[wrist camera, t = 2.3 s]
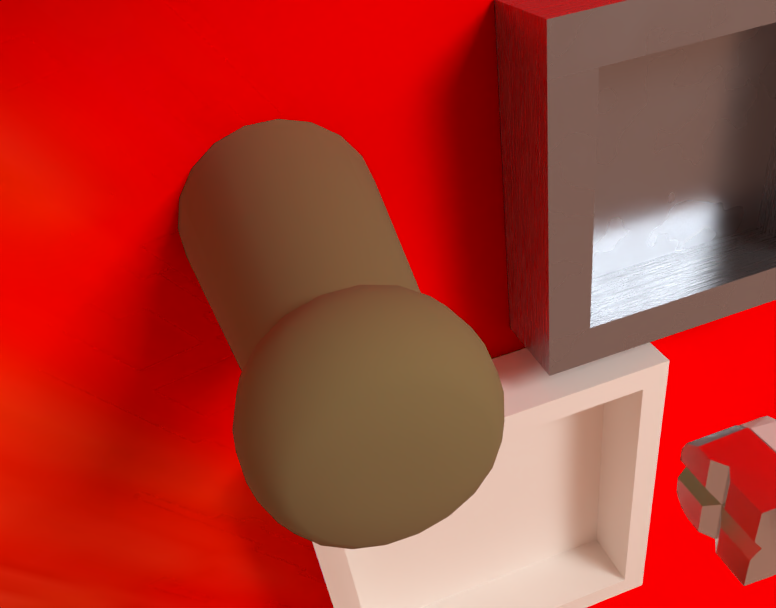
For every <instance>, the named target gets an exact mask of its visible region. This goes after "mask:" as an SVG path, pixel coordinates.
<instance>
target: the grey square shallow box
mask: <svg viewBox="0 0 776 608" xmlns="http://www.w3.org/2000/svg"><path fill="white" fill-rule="evenodd" d="M494 6H495V26H496V47H497V68H498V89H499V110H500V130H501V151H502V172H503V193H504V214H505V235H506V255H507V276H508V297H509V318H510V329H511V330H512V331H513V332H514V334H515V335H516V336H517V337H518V338H519V340H520V341H521V342H522V343H523V344H524V346H525V347H526V348H527V349H528V350H529V352H530V353H531V354H532V355H533V357H534V358H535V359H536V360H537V361H538V363H539V364H540V365H541V366H542V367H543V369H544V370H545V371H546V372H547V374H548V375H549V376H551V375H554V374H557V373H560V372H563V371H566V370H569V369H572V368H575V367H578V366H580V365H583V364H586V363H589V362H592V361H595V360H598V359H601V358H604V357H607V356H610V355H613V354H616V353H619V352H622V351H625V350H628V349H631V348H634V347H637V346H640V345H643V344H646V343H649V342H652V341H655V340H658V339H661V338H664V337H666V336H669V335H672V334H675V333H678V332H681V331H684V330H687V329H690V328H693V327H696V326H699V325H702V324H705V323H708V322H711V321H714V320H717V319H720V318H723V317H726V316H729V315H732V314H735V313H738V312H741V311H744V310H747V309H750V308H752V307H755V306H758V305H761V304H764V303H767V302H770V301H773V300H776V0H494Z"/></svg>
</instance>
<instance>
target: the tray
mask: <svg viewBox="0 0 776 608" xmlns="http://www.w3.org/2000/svg"><path fill="white" fill-rule="evenodd" d="M492 361H493V363H494V365H495V368H496V370H497V372H498V375H499V378H500V381H501V384H502V387H503V391H504V430H503V438H502V443H501V445H500V448H499V451H498V454H497V457H496V460H495V463H494V465H493V468H492V470H491V471H490V472H489V474H488V475H487V477H486V478H485V479H484V481H483V482H482V484H481V485H480V486H479V488H478V489H477V491H476V492H475V494H474V495H472V496H471V497H470V498H469V499H468V500H467V501H466V502H465V503H463V504H462V505H461V506H460V507H459V508H458V509H457V510H456V511H454V512H453V513H452V514H451V515H450V516H449V517H447V518H445V519H443V520H442V521H440V522H438V523H437V524H435V525H433V526H431V527H430V528H428V529H426V530H424V531H423V532H421V533H419V534H417V535H414V536H411V537H408V538H405V539H402V540H399V541H396V542H393V543H391V544H388V545H382V546H375V547H367V548H359V549H346V548H337V547H329V546H321V545H319V544H317V543H314V542H312V543H313V546H314V549H315V552H316V555H317V558H318V561H319V564H320V567H321V570H322V573H323V576H324V580H325V583H326V586H327V589H328V592H329V595H330V598H331V601H332V604H333V607H334V608H586V607H589V606H591V605H594V604H596V603H599V602H601V601H603V600H606V599H608V598H611V597H613V596H616V595H618V594H621V593H623V592H626V591H628V590H631V589H633V588H635V587H638V586H640V585H642V582H643V573H644V565H645V557H646V549H647V541H648V532H649V524H650V516H651V508H652V499H653V491H654V483H655V475H656V467H657V458H658V450H659V442H660V434H661V426H662V417H663V409H664V401H665V393H666V385H667V376H668V368H669V360H668V359H667V358H666V357H665V356H664V355H663V354H662V353H661V352H660V351H659V350H657V349H656V348H655V347H654V346H653V345H652V344H651V343H650V342H649V343H646V344H643V345H640V346H637V347H634V348H631V349H628V350H625V351H622V352H619V353H616V354H613V355H610V356H607V357H604V358H601V359H598V360H595V361H592V362H589V363H586V364H583V365H580V366H578V367H575V368H572V369H569V370H566V371H563V372H560V373H557V374H554V375H551V376H549V375H548V374H547V372H546V371H545V370H544V369H543V367H542V366H541V365H540V364H539V363H538V361H537V360H536V359H535V358H534V357H533V355H532V354H531V353H530V352H529V350H528V349H527V348H524V349H521V350H518V351H515V352H512V353H509V354H506V355H503V356H500V357H497V358H494V359H492Z"/></svg>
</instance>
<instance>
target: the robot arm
mask: <svg viewBox="0 0 776 608" xmlns="http://www.w3.org/2000/svg"><path fill="white" fill-rule="evenodd" d="M680 460H681V461H682V462H683V463H684V464H685V466H686V468H685V469H684V470H683V472H682V473H681V474H680V476H679V477H678V482H677V494H678V498H679V501H680V504H681V507H682V509H683V511H684V513H685V514H686V516H687V518H688V519H689V521H690V522H691V523H692V524H693V526H694V527H695V528H696V529H697V530H698V531H699V532H701V533H703V534H705V535H708V536H710V537H712V538H714V539H715V543H716V553H717V555H718V556H719V557H720V558H721V559H722V560H723V562H724V563H725V564H726V565H727V566H728V568H729V569H730V570H731V571H732V572H733V574H734V575H735V576H736V577H737V578H738V579H739V581H740V582H741V583H742V584H743V585H744V586H745V585H748V584H751V583H754V582H756V581H759V580H762V579H765V578H768V577H770V576H773V575H776V419H774V418H771V417H769V416H765V417H760V418H758V419H755V420H752V421H750V422H747V423H744V424H742V425H739V426H733V427H730V428H728V429H725V430H722V431H719V432H717V433H714V434H711V435H708V436H706V437H703V438H700V439H698V440H695V441H692V442H689V443H687V444H686V445H685V446H684V447H683V448H682V452H681V458H680Z"/></svg>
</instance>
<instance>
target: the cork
mask: <svg viewBox="0 0 776 608" xmlns="http://www.w3.org/2000/svg"><path fill="white" fill-rule="evenodd" d="M178 231H179V234H180V237H181V240H182V243H183V246H184V249H185V253H186V256H187V258H188V260H189V262H190V264H191V267H192V269H193V271H194V273H195V275H196V277H197V279H198V281H199V283H200V285H201V287H202V289H203V292H204V294H205V296H206V298H207V300H208V302H209V304H210V306H211V308H212V310H213V312H214V314H215V317H216V319H217V321H218V323H219V325H220V327H221V329H222V331H223V333H224V335H225V337H226V339H227V342H228V344H229V346H230V348H231V350H232V352H233V354H234V356H235V358H236V360H237V362H238V364H239V367H240V369H241V371H242V373H241V375H240V378H239V384H238V389H237V394H236V402H235V411H234V421H233V436H234V442H235V448H236V453H237V456H238V459H239V462H240V465H241V468H242V471H243V474H244V477H245V480H246V483H247V484H248V486H249V488H250V489H251V491H252V493H253V495H254V496H255V498H256V500H257V501H258V502H259V503H260V504H261V505H262V506H263V507H264V508H265V510H266V511H267V512H268V513H269V514H270V515H271V516H272V517H273V518H274V519H275V520H276V521H277V522H278V523H279V524H281V525H282V526H284V527H285V528H287V529H288V530H290V531H291V532H293V533H294V534H296V535H299V536H301V537H303V538H305V539H308V540H310V541H312V542H314V543H317V544H319V545H321V546H329V547H337V548H346V549H359V548H367V547H375V546H382V545H388V544H391V543H393V542H396V541H399V540H402V539H405V538H408V537H411V536H414V535H417V534H419V533H421V532H423V531H424V530H426V529H428V528H430V527H431V526H433V525H435V524H437V523H438V522H440V521H442V520H443V519H445V518H447V517H449V516H450V515H451V514H452V513H453V512H454V511H456V510H457V509H458V508H459V507H460V506H461V505H462V504H463V503H465V502H466V501H467V500H468V499H469V498H470V497H471V496H472V495H474V494H475V492H476V491H477V489H478V488H479V486H480V485H481V484H482V482H483V481H484V479H485V478H486V477H487V475H488V474H489V472H490V471H491V470H492V468H493V465H494V463H495V460H496V457H497V454H498V451H499V448H500V445H501V443H502V438H503V430H504V391H503V387H502V384H501V381H500V378H499V375H498V372H497V370H496V368H495V365H494V363H493V361H492V359H491V357H490V355H489V353H488V350H487V348H486V346H485V344H484V343H483V342H482V340H481V339H480V338H479V337H478V335H477V334H476V333H475V331H474V330H473V329H472V328H471V327H470V326H469V325H468V324H467V323H466V322H464V321H463V320H462V319H461V318H460V317H458V316H457V315H456V314H455V313H454V312H453V311H451V310H450V309H449V308H448V307H447V306H445V305H444V304H442V303H440V302H439V301H437V300H435V299H434V298H432V297H431V296H428V295H425V294H422V293H420V290H419V288H418V285H417V283H416V280H415V278H414V276H413V273H412V271H411V268H410V266H409V263H408V261H407V258H406V256H405V254H404V251H403V249H402V246H401V244H400V241H399V239H398V237H397V234H396V232H395V229H394V227H393V224H392V222H391V220H390V217H389V215H388V212H387V210H386V207H385V205H384V203H383V200H382V198H381V195H380V193H379V190H378V188H377V186H376V183H375V181H374V179H373V177H372V175H371V173H370V171H369V169H368V167H367V165H366V163H365V161H364V159H363V157H362V156H361V155H360V154H359V153H358V152H357V151H356V150H355V149H354V148H353V147H352V146H351V145H350V144H349V143H348V142H347V141H346V140H344V139H343V138H342V137H341V136H340V135H338V134H336V133H334V132H331V131H329V130H327V129H325V128H323V127H320V126H318V125H316V124H314V123H312V122H303V121H293V120H283V119H276V120H271V121H266V122H261V123H257V124H252V125H247V126H244V127H242V128H240V129H238V130H237V131H235V132H233V133H231V134H230V135H228V136H226V137H224V138H223V139H221V140H219V141H217V142H216V143H214V144H213V145H212V147H211V148H210V149H209V150H208V151H207V152H206V153H205V154H204V155H203V156H202V158H201V159H200V160H199V161H198V162H197V163H196V164H195V165H194V166H193V168H192V169H191V172H190V174H189V176H188V179H187V181H186V183H185V186H184V188H183V191H182V193H181V195H180V198H179V216H178Z"/></svg>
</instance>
